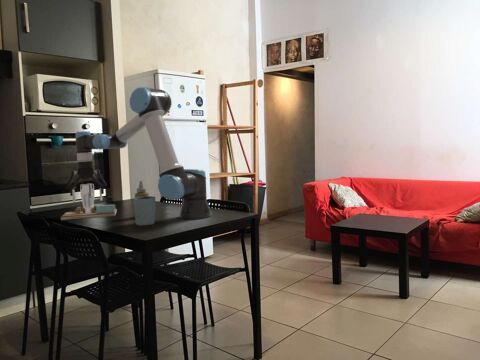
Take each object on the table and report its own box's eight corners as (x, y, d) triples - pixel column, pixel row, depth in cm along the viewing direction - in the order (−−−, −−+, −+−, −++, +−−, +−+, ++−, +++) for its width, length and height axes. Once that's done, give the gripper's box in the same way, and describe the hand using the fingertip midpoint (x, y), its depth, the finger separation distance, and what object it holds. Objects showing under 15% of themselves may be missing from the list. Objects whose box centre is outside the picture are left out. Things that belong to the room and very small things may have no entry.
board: (114, 216, 217) (114, 208, 216) (60, 220, 211) (60, 212, 210) (116, 211, 233) (116, 204, 233) (66, 214, 227) (66, 207, 227)
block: (114, 212, 218) (114, 205, 218) (96, 214, 216) (96, 206, 216) (115, 212, 220) (114, 204, 220) (97, 213, 218) (96, 205, 217)
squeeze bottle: (147, 218, 206) (145, 181, 205) (131, 218, 208) (129, 182, 206) (153, 215, 214) (151, 180, 213) (139, 215, 216) (136, 180, 214)
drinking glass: (134, 226, 188) (133, 199, 186) (133, 222, 197) (132, 196, 196) (157, 224, 190) (156, 197, 189) (155, 220, 200) (154, 195, 199)
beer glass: (98, 211, 226) (96, 183, 225) (90, 213, 220) (88, 184, 218) (87, 211, 228) (85, 183, 227) (79, 213, 222) (77, 185, 220)
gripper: (110, 159, 228) (112, 198, 230) (60, 161, 222) (63, 201, 224) (109, 160, 221) (111, 200, 223) (58, 162, 215) (61, 203, 217)
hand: (87, 201), depth 223 cm, fingers open, 13 cm apart
